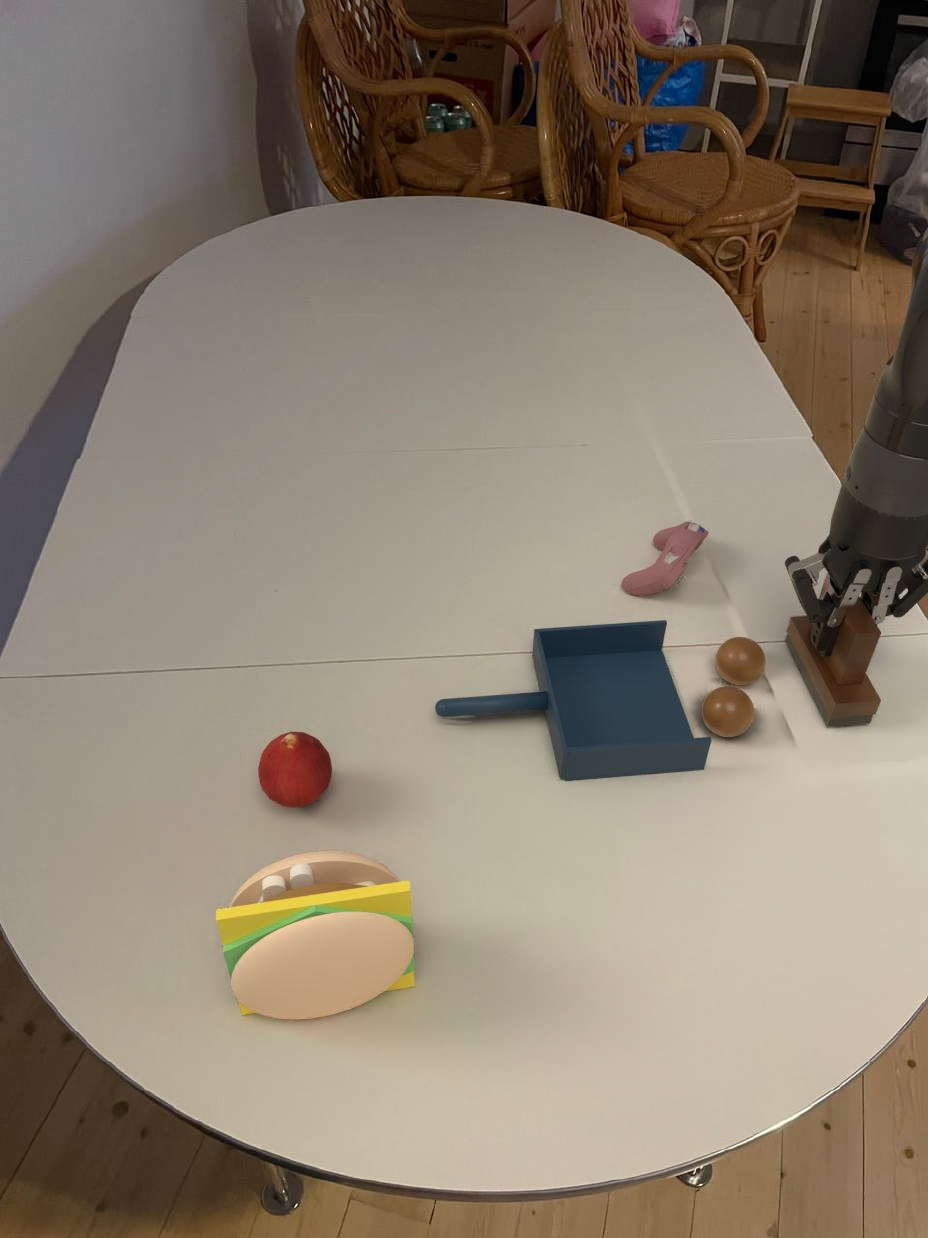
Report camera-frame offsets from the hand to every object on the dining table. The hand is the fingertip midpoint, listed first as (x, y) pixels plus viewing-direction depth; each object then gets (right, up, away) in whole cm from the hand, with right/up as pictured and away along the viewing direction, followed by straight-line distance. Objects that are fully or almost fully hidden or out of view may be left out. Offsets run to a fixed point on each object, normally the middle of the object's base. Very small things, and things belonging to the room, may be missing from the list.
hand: (837, 648), depth 91 cm
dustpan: (-24, -6, +2) cm, 25 cm away
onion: (-46, -12, -5) cm, 48 cm away
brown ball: (-7, -1, +4) cm, 9 cm away
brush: (0, -3, +3) cm, 4 cm away
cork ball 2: (-10, -6, 0) cm, 11 cm away
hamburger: (-42, -23, -17) cm, 51 cm away
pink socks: (-12, +7, +17) cm, 22 cm away
